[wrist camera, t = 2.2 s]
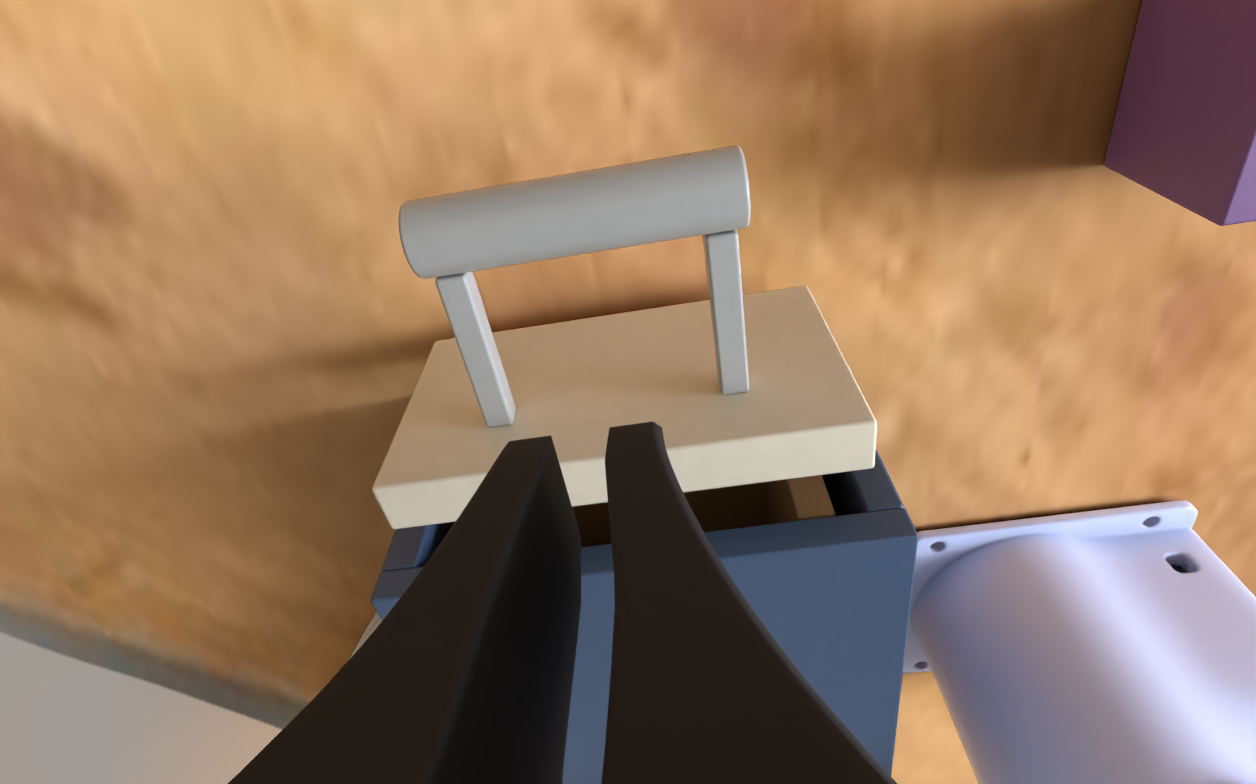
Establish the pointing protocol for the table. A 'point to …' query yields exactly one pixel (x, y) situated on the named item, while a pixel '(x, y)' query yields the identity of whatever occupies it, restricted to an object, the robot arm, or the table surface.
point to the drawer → (624, 356)
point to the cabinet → (758, 608)
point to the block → (1191, 107)
